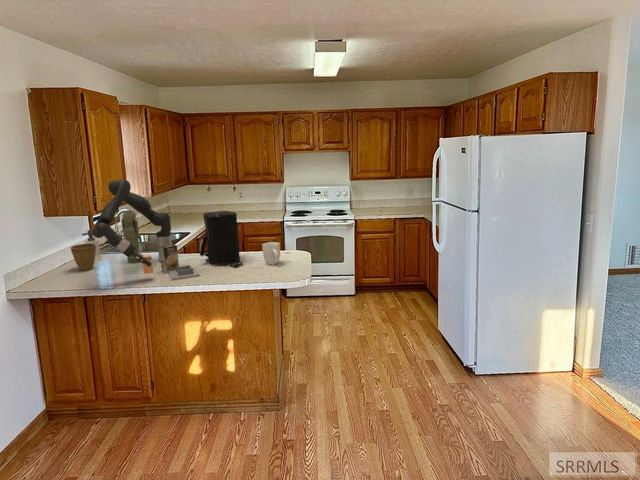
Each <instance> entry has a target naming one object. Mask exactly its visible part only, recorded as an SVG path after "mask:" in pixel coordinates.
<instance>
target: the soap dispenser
mask: <svg viewBox="0 0 640 480" xmlns="http://www.w3.org/2000/svg"><path fill="white" fill-rule="evenodd" d="M92 230H93V229H88V230H86V231H87V232H84V233H81V236H87V235H88V237H87V240H85V241H84V244H96V252H95V260H94V263H96V262H100V261H102V255H101V247H100V241H99V239H98V240H97V239H96V237H94V236H93V234H92Z"/></svg>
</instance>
